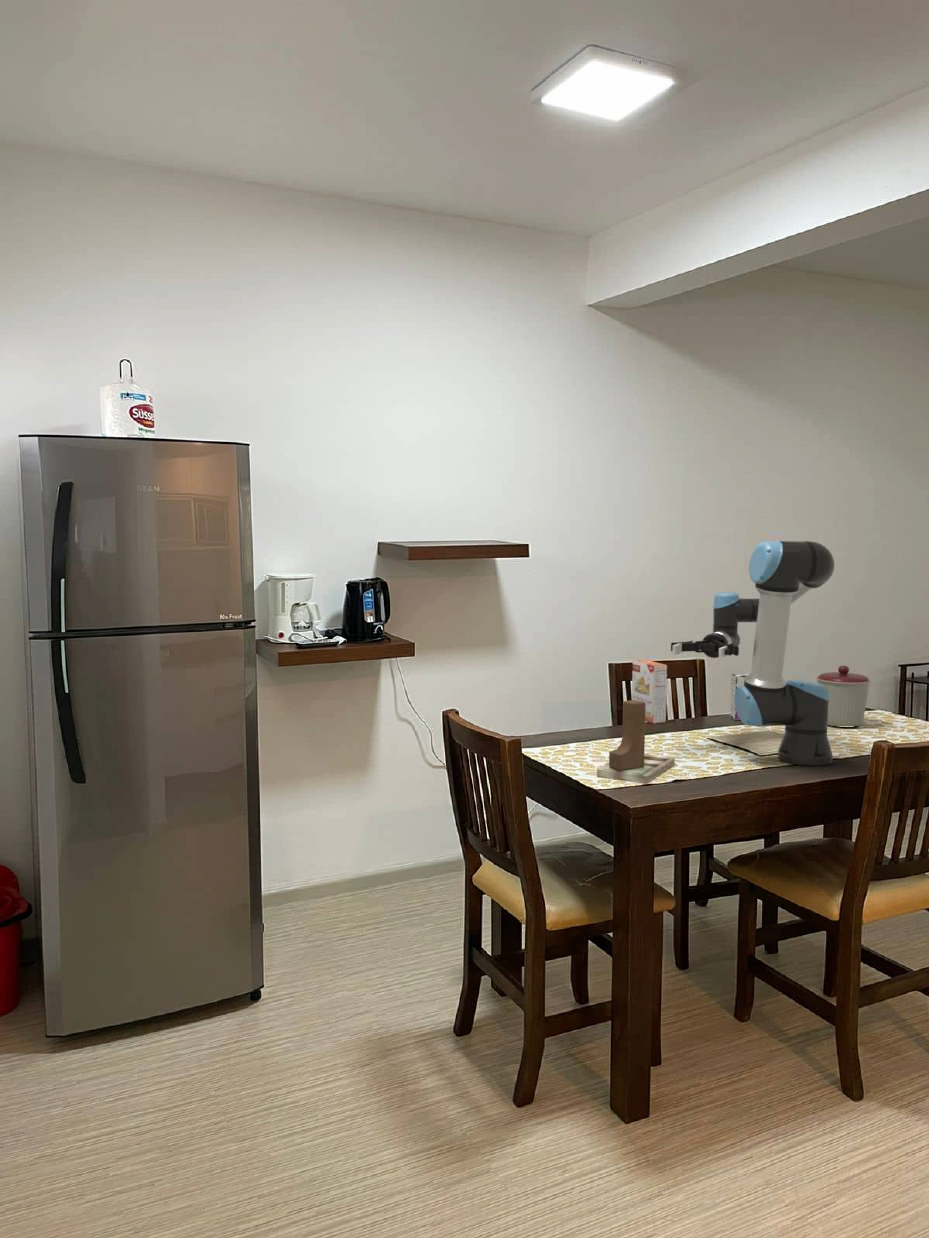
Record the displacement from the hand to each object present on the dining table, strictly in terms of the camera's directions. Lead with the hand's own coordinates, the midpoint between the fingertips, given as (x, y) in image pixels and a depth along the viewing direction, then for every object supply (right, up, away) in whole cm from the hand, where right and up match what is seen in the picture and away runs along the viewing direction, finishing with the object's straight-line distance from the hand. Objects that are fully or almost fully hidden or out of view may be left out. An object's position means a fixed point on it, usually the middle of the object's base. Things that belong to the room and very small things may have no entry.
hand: (696, 651), depth 274 cm
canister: (+64, -28, +56) cm, 89 cm away
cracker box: (-2, -27, +64) cm, 69 cm away
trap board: (-19, -33, -10) cm, 39 cm away
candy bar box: (+34, -27, +66) cm, 79 cm away
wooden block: (-23, -31, -16) cm, 42 cm away
